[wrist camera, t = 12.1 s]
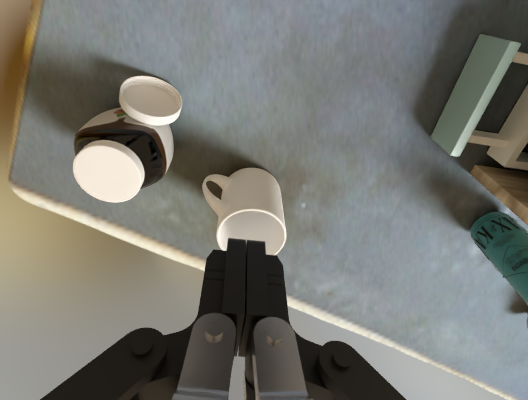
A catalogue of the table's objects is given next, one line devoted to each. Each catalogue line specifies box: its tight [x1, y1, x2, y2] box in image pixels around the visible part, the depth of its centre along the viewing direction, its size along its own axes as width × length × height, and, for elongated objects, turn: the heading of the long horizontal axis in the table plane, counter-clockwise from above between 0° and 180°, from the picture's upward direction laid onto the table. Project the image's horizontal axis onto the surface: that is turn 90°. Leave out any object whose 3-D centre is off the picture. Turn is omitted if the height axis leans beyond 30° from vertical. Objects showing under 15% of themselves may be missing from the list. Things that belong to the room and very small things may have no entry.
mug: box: [202, 168, 286, 255], centre depth 44 cm, size 9×12×11 cm
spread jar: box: [73, 76, 182, 203], centre depth 38 cm, size 12×11×12 cm
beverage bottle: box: [471, 212, 528, 305], centre depth 46 cm, size 6×7×20 cm
